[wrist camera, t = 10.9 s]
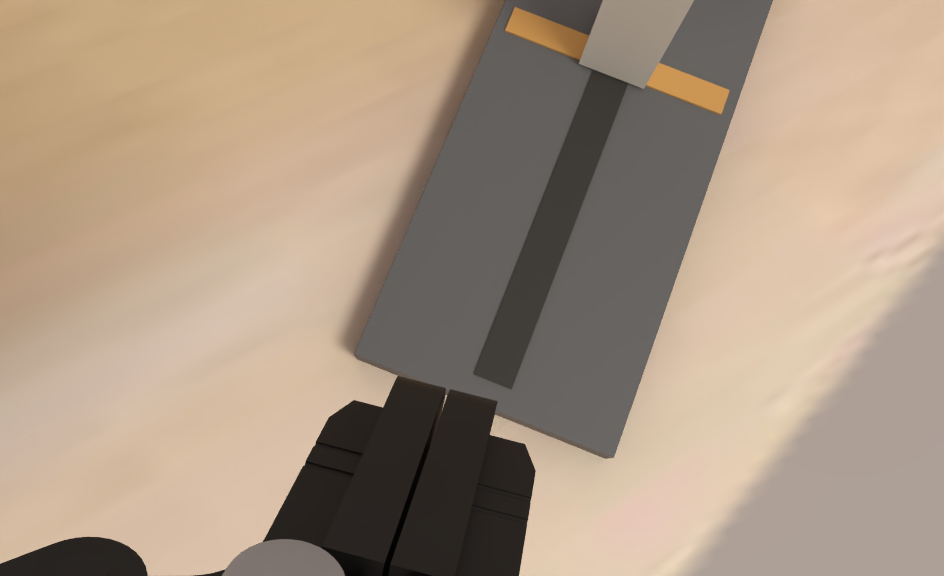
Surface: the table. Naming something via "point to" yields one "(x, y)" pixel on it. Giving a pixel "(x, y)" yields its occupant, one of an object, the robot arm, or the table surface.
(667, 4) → the fader
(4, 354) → the table surface
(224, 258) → the table surface
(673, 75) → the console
